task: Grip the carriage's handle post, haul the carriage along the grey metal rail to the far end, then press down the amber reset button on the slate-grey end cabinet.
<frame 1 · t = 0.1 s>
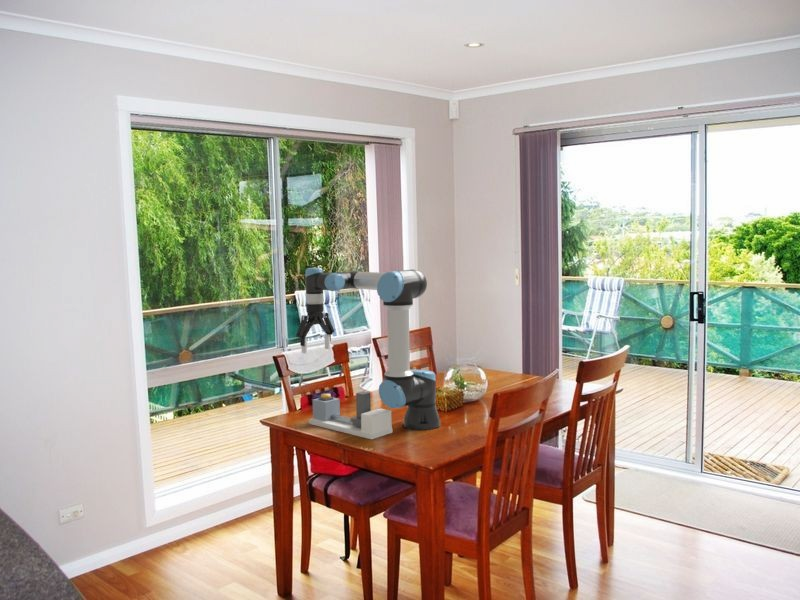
hand: (316, 351, 319), 28 cm above the table, tool pointing down, fingers open, 13 cm apart
rail track: (350, 428, 296), on the table
carriage: (363, 409, 290), point 9 cm above the table, slide at -8.0 cm
gauge cabinet: (326, 422, 305), resting on rail track
rail bar: (351, 428, 295), resting on rail track
reset button: (326, 400, 304), point 9 cm above the table, slide at 0.0 cm
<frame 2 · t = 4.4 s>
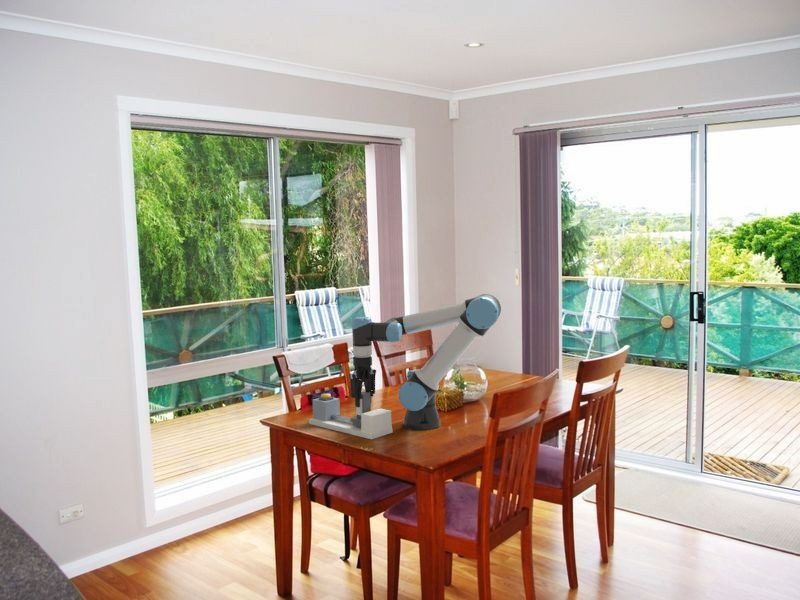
hand: (363, 413, 290), 7 cm above the table, tool pointing down, fingers closed on carriage, 4 cm apart
carriage: (363, 409, 290), point 9 cm above the table, slide at -8.0 cm, touching gripper
everything else where it was.
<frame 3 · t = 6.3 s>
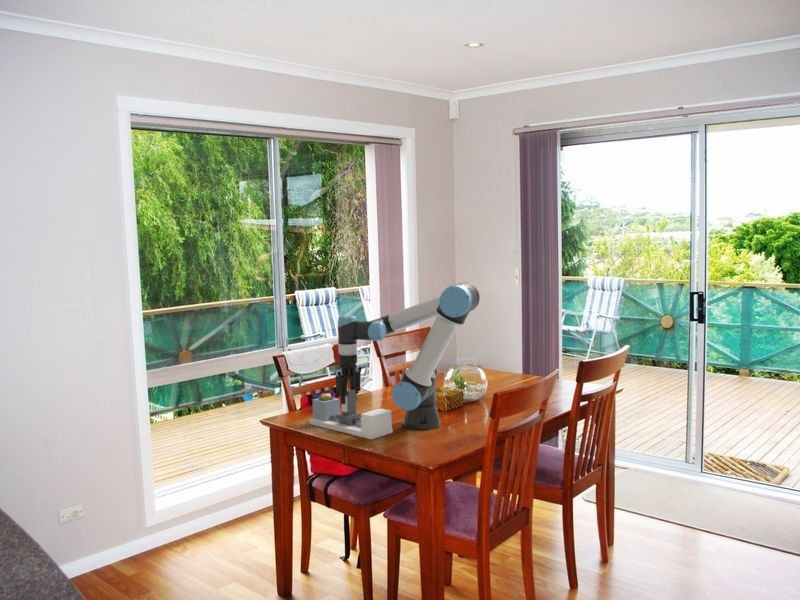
hand: (349, 410, 295), 7 cm above the table, tool pointing down, fingers closed on carriage, 4 cm apart
carriage: (348, 406, 295), point 9 cm above the table, slide at 0.3 cm, touching gripper
everything else where it was.
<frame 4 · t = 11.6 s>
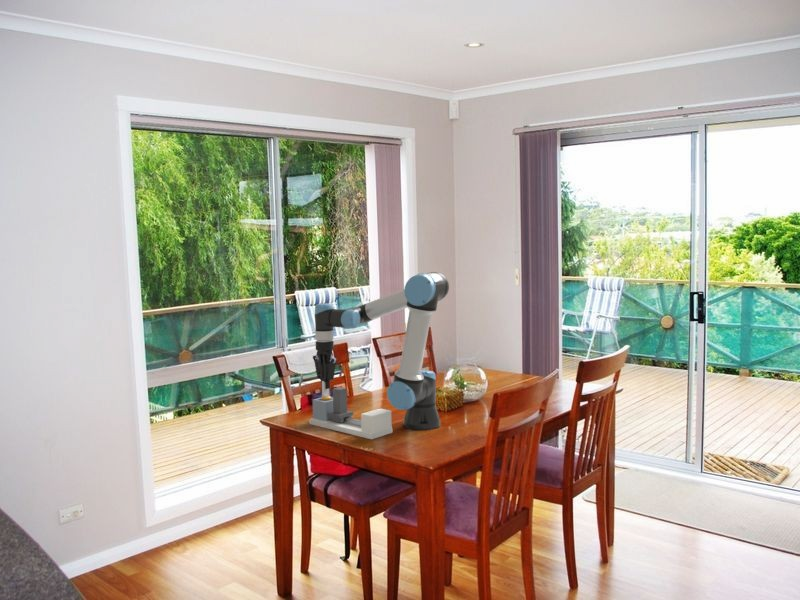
hand: (325, 396, 304), 11 cm above the table, tool pointing down, fingers closed
carriage: (340, 404, 299), point 9 cm above the table, slide at 5.5 cm
reset button: (326, 402, 304), point 9 cm above the table, slide at 0.9 cm, touching gripper
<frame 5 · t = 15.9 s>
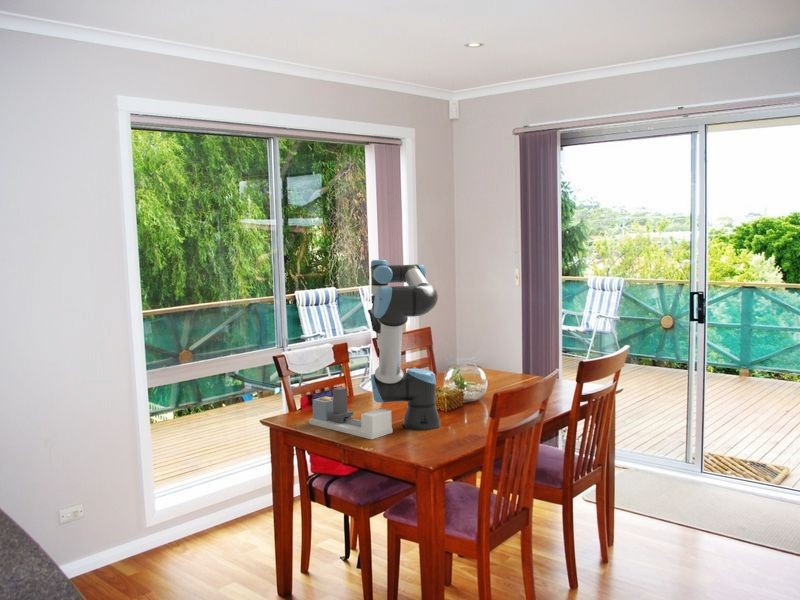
hand: (380, 347, 322), 28 cm above the table, tool pointing down, fingers closed
reset button: (326, 403, 304), point 8 cm above the table, slide at 1.5 cm
everything else where it was.
at the end: carriage slide at 5.5 cm; reset button slide at 1.5 cm; the gripper is holding nothing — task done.
